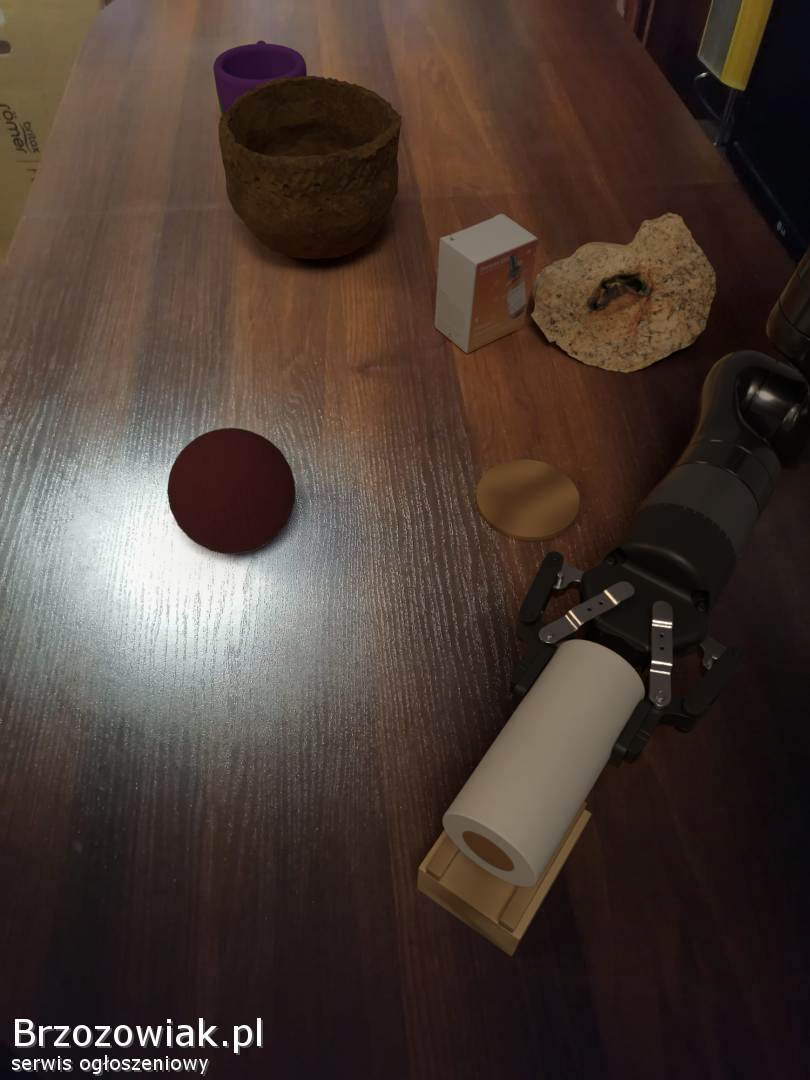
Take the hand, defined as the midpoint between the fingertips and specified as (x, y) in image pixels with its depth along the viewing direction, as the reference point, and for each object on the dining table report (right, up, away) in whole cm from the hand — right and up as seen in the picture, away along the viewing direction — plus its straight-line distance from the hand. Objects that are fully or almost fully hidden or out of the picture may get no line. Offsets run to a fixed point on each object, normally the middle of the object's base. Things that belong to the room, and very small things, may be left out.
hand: (565, 728), depth 50 cm
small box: (-1, +33, +40) cm, 52 cm away
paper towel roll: (-1, -1, -1) cm, 2 cm away
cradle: (-3, -10, +6) cm, 12 cm away
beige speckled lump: (+13, +33, +40) cm, 53 cm away
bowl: (-19, +45, +49) cm, 69 cm away
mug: (-28, +66, +66) cm, 97 cm away
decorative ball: (-23, +12, +23) cm, 35 cm away
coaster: (+1, +14, +25) cm, 29 cm away
